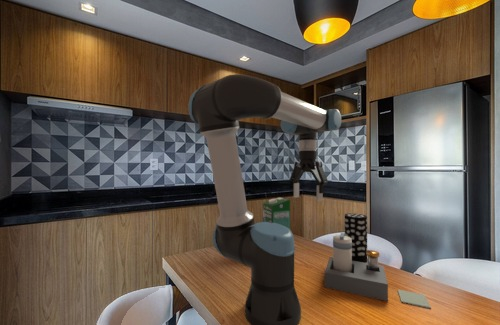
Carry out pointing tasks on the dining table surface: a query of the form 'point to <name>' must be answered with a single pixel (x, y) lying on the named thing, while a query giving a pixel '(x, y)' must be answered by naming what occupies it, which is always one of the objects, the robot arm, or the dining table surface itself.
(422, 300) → the mat
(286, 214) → the milk carton
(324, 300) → the dining table surface
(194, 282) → the dining table surface
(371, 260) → the gold lidded jar
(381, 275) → the block
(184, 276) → the dining table surface
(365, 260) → the white-spotted black cylinder
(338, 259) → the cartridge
